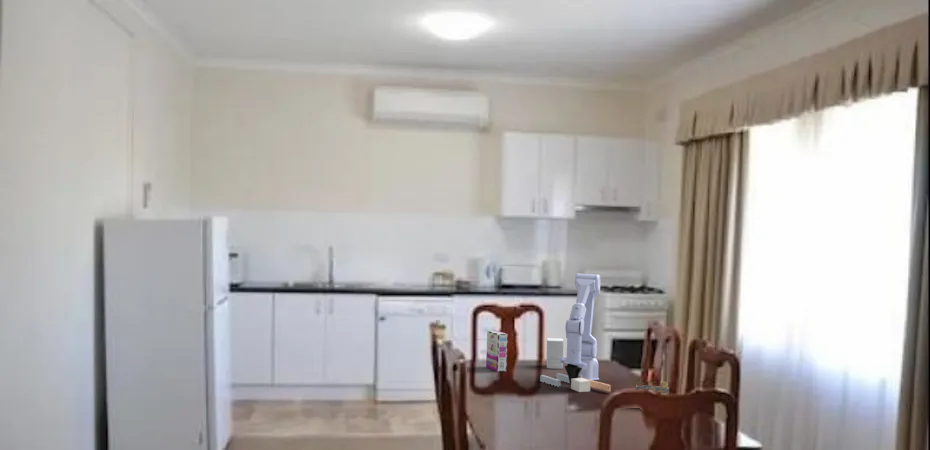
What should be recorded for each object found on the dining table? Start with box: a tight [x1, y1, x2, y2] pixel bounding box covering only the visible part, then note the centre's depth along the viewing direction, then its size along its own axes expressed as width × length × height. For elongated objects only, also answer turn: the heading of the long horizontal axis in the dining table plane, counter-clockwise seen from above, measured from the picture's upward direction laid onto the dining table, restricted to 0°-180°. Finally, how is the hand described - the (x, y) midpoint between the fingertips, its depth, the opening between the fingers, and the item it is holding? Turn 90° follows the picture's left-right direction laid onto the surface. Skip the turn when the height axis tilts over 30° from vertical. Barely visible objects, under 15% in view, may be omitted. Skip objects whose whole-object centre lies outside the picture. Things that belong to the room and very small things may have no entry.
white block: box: [570, 378, 591, 393], centre depth 293 cm, size 5×6×4 cm
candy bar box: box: [485, 330, 509, 373], centre depth 327 cm, size 11×5×16 cm, turn 25°
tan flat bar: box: [578, 375, 612, 392], centre depth 295 cm, size 17×1×4 cm, turn 37°
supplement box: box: [545, 337, 565, 370], centre depth 336 cm, size 7×7×13 cm
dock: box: [539, 372, 570, 388], centre depth 304 cm, size 10×11×2 cm
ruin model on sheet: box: [635, 381, 670, 394], centre depth 270 cm, size 11×3×10 cm, turn 81°
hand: (572, 383), depth 297 cm, fingers closed
